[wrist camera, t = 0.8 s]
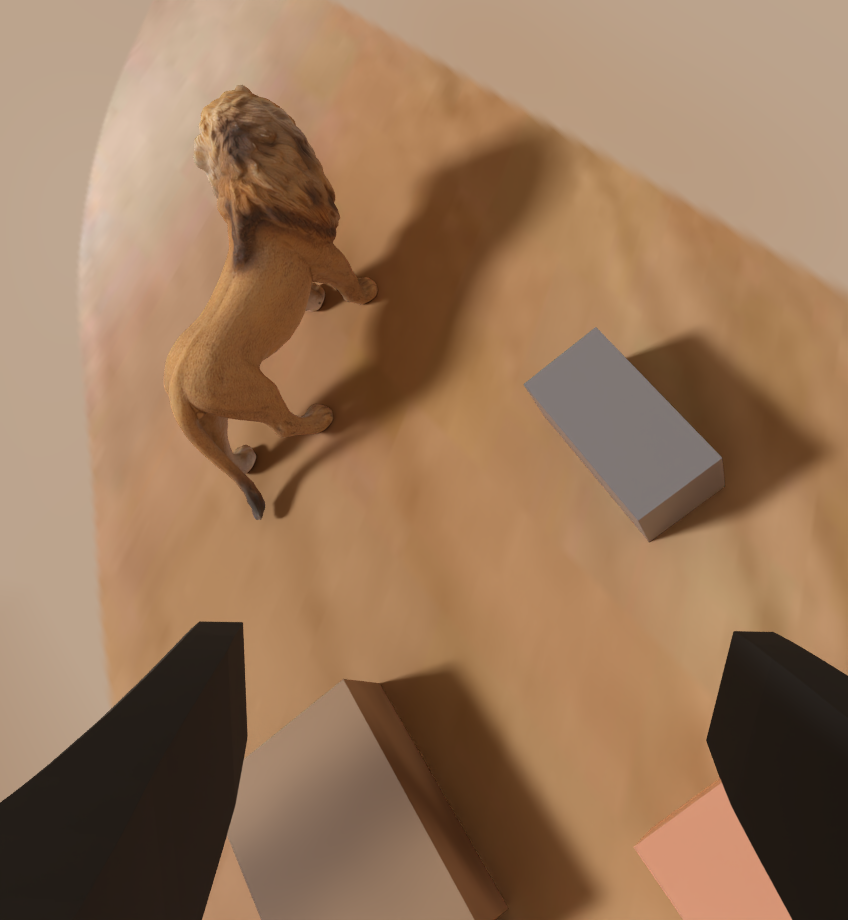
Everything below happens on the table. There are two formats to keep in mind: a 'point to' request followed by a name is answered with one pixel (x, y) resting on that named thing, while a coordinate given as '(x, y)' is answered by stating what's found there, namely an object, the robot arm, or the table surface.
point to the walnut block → (353, 822)
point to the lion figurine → (256, 279)
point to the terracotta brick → (710, 863)
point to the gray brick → (627, 434)
